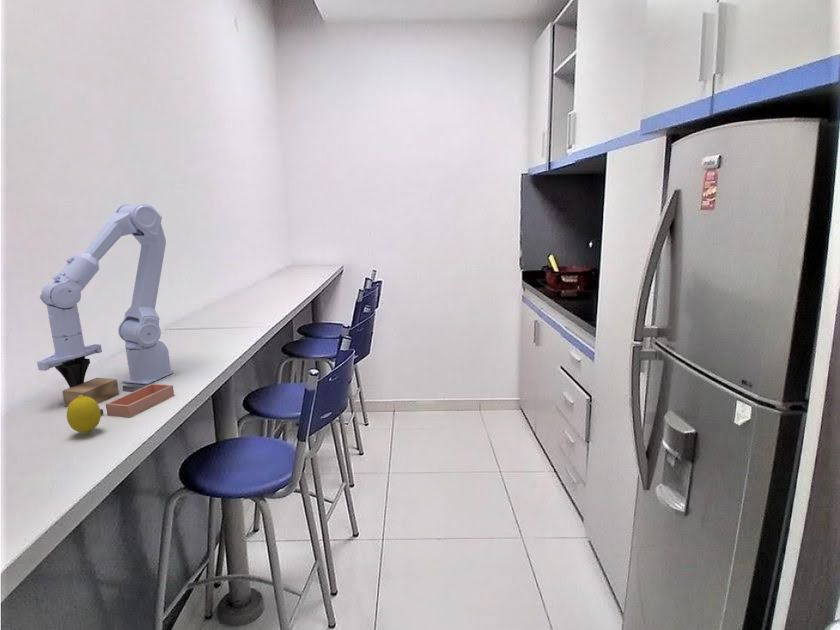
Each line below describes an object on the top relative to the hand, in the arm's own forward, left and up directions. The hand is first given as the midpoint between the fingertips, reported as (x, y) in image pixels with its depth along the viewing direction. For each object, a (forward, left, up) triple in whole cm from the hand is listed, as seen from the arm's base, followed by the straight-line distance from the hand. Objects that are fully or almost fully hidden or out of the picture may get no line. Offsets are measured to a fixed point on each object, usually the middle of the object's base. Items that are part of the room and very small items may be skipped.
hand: (77, 390), depth 122 cm
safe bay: (0, +10, -2) cm, 10 cm away
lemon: (+15, +19, -2) cm, 25 cm away
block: (0, +4, -2) cm, 5 cm away
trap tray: (0, +18, -2) cm, 18 cm away
